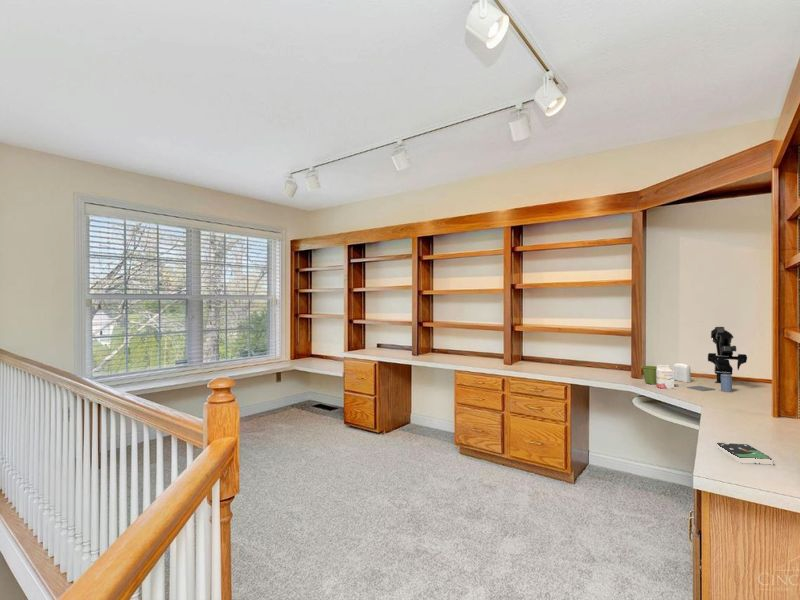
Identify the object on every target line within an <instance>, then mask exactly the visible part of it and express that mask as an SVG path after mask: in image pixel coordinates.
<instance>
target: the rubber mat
mask: <svg viewBox="0 0 800 600" xmlns="http://www.w3.org/2000/svg"><path fill="white" fill-rule="evenodd" d="M686 389H690V390H696V391H700V392H707V391H716V388H711V387H708V386H707V387H706V386H702V385H694V386H686Z"/></svg>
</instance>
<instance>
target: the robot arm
mask: <svg viewBox="0 0 800 600" xmlns="http://www.w3.org/2000/svg"><path fill="white" fill-rule="evenodd" d="M710 338H711V339H712V338H713V340H712V343H714V344H715V345H716V346H715V347H716V353H715V352H713V353H712V352H709V353H708V354H707V362H710V363H712V364H714V374H715V375H716V381H715V383H716V382H717V383H716V384H721V374H729V375H731V376H732V375H733V368H734V367H732V365H731V364H730V360H731V361H734V360H735V361H737V363H736V364H737V367H736V368H737V369H736V370H737V371H740V367H741V366H742V365H743V364H746V363H747V361H748V356H747V355H746V354H744V353H743V354H741V353H737V355H735V356H734V352H737V346H736V345H732V344H731V343H732V340H733V339H734V335H733V334H732V333H731V332H729V331H728V330H726V329H725V327H724V326H716V327H714V329H712V330H711V331H710Z"/></svg>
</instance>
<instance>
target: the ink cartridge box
mask: <svg viewBox="0 0 800 600" xmlns="http://www.w3.org/2000/svg"><path fill="white" fill-rule="evenodd" d="M656 366H657V369H656V379H657V384H656V388H658V389H664V390H665V389H667V390H669V389H670V390H673V389H675V380H674V369H673V370H672V369H671V364H656Z"/></svg>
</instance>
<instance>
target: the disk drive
mask: <svg viewBox="0 0 800 600" xmlns="http://www.w3.org/2000/svg"><path fill="white" fill-rule="evenodd" d="M717 444H718V445H719V446H720V447H722V448H724V449H725V450H727V451H728V452H730V453H731V454H733V455H735V456H737V457H739V458H755V459H756V458H757V459H770V460H773V459H772V457H770V455H767V454H765V453H764V452H762V451H760V450H758V449H756V448H755V447H753V446H752V445H750V444H748V443H724V442H716V445H717Z"/></svg>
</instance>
